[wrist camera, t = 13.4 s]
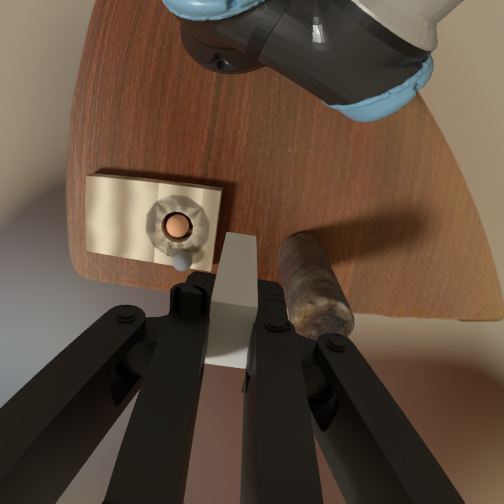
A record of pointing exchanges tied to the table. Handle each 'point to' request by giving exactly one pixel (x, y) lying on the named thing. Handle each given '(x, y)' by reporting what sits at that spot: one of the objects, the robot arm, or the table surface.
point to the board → (150, 218)
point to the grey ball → (182, 261)
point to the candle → (312, 289)
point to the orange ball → (177, 225)
